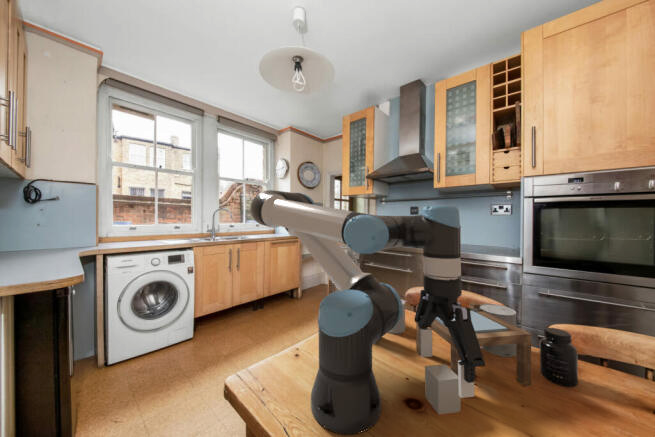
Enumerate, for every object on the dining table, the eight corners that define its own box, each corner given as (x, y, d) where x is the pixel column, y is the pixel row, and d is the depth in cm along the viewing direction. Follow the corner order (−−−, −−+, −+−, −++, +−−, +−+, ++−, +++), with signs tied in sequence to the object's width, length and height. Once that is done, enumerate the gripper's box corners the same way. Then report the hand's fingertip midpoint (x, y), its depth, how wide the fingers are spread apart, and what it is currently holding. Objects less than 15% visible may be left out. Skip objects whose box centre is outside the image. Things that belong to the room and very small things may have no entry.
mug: (398, 336, 82) (398, 307, 82) (374, 327, 88) (374, 301, 89) (411, 325, 90) (411, 299, 90) (388, 318, 96) (388, 294, 97)
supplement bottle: (541, 367, 65) (540, 323, 65) (577, 379, 60) (577, 331, 60) (539, 379, 60) (538, 331, 60) (578, 393, 55) (577, 341, 55)
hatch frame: (456, 394, 55) (456, 333, 55) (416, 351, 72) (416, 305, 73) (531, 385, 57) (531, 327, 58) (475, 346, 75) (474, 302, 75)
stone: (438, 414, 49) (438, 380, 49) (425, 396, 54) (425, 366, 54) (460, 411, 50) (460, 378, 50) (445, 394, 55) (445, 364, 55)
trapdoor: (457, 342, 59) (456, 326, 59) (415, 311, 79) (415, 299, 79) (508, 338, 61) (508, 322, 61) (454, 308, 81) (454, 297, 81)
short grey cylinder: (517, 361, 68) (516, 317, 68) (477, 350, 73) (477, 310, 73) (516, 346, 75) (515, 307, 75) (480, 337, 81) (480, 301, 81)
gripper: (507, 291, 40) (511, 417, 40) (426, 265, 65) (427, 343, 65) (467, 293, 39) (470, 423, 39) (400, 266, 64) (401, 345, 64)
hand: (443, 373), depth 52 cm, fingers open, 13 cm apart
